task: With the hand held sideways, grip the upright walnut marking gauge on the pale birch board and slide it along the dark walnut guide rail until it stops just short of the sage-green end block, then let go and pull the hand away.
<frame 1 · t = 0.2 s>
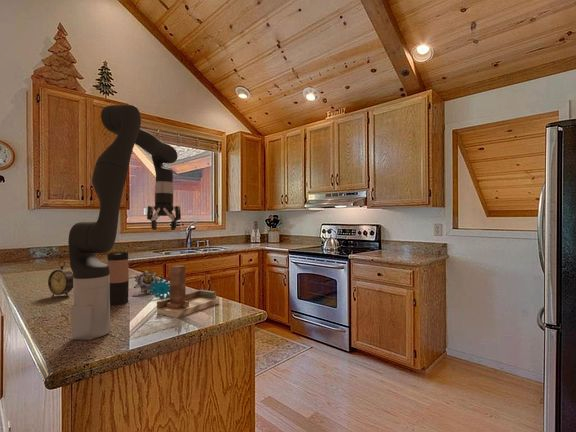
hand: (163, 229, 139), 29 cm above the countertop, tool pointing down, fingers open, 8 cm apart
alarm clock: (62, 296, 141), on the countertop
passion flower: (147, 292, 148), on the countertop
marking gauge: (177, 306, 116), point 2 cm above the countertop, touching board
travel mug: (118, 303, 130), on the countertop
board: (189, 308, 120), on the countertop
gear: (163, 297, 138), on the countertop
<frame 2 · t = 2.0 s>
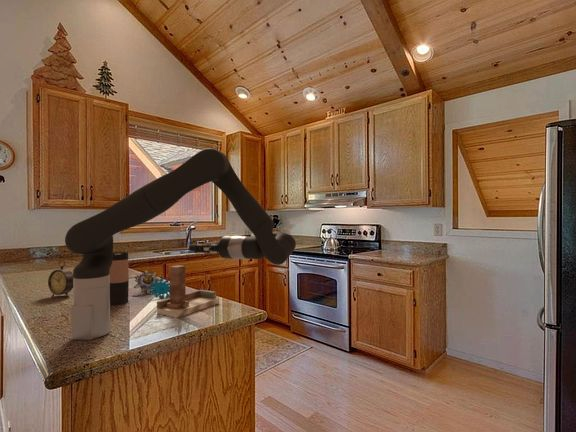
hand: (198, 246, 111), 24 cm above the countertop, tool horizontal, fingers open, 8 cm apart
nothing on the countertop moved.
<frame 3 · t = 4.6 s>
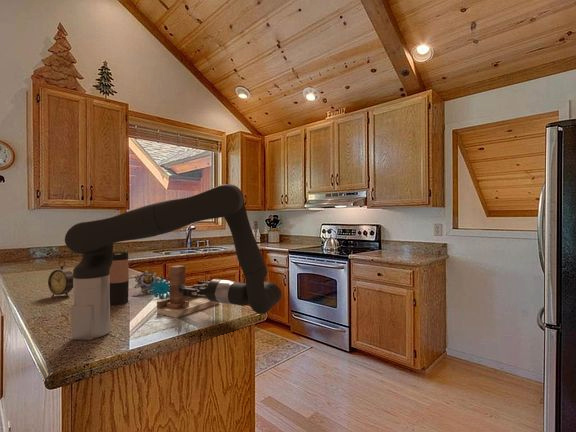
hand: (189, 286, 113), 10 cm above the countertop, tool horizontal, fingers open, 8 cm apart
nothing on the countertop moved.
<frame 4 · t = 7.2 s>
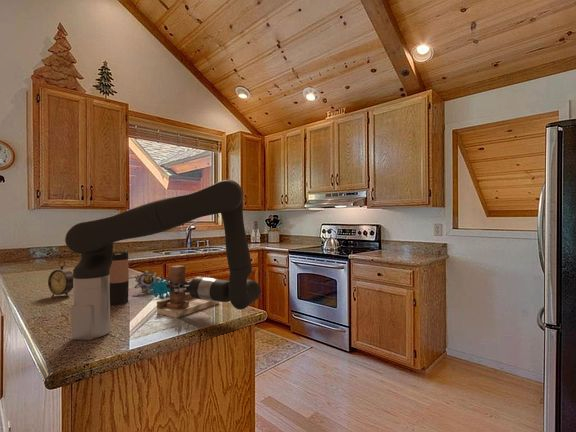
hand: (172, 283, 117), 10 cm above the countertop, tool horizontal, fingers closed on marking gauge, 3 cm apart
marking gauge: (177, 306, 116), point 2 cm above the countertop, touching board, gripper
everything else where it was.
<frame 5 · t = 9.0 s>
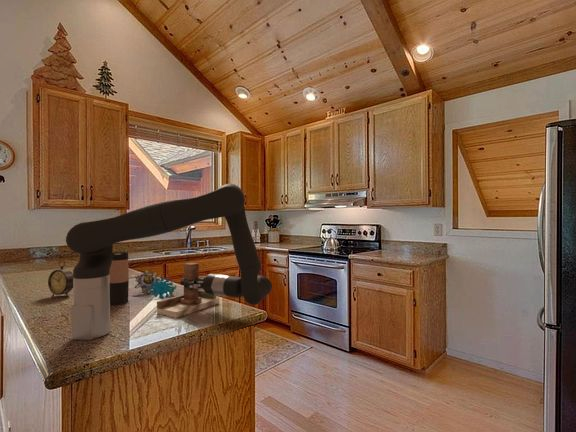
hand: (186, 280, 122), 10 cm above the countertop, tool horizontal, fingers closed on marking gauge, 4 cm apart
marking gauge: (191, 302, 121), point 2 cm above the countertop, touching gripper
everything else where it was.
when the fingers open (10 cm above the countertop, at t = 11.1 s): marking gauge stays where it is, resting on board.
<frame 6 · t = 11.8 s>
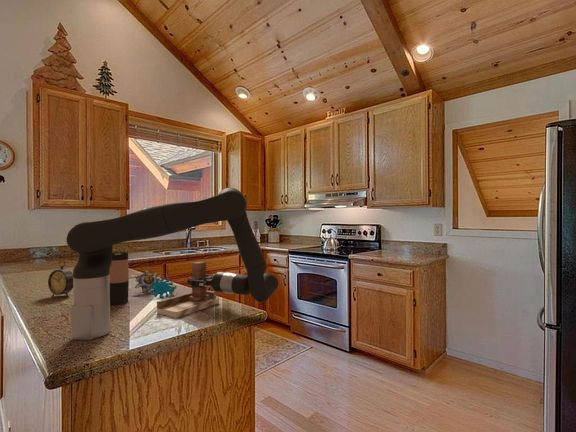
hand: (196, 278, 126), 10 cm above the countertop, tool horizontal, fingers open, 8 cm apart
marking gauge: (199, 299, 125), point 2 cm above the countertop, touching board
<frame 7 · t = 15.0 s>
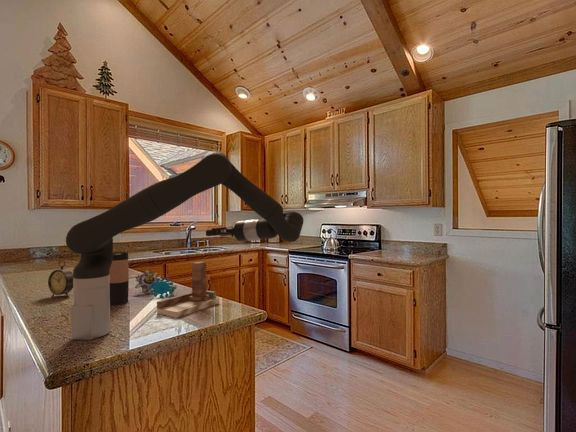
hand: (213, 233, 121), 28 cm above the countertop, tool horizontal, fingers open, 8 cm apart
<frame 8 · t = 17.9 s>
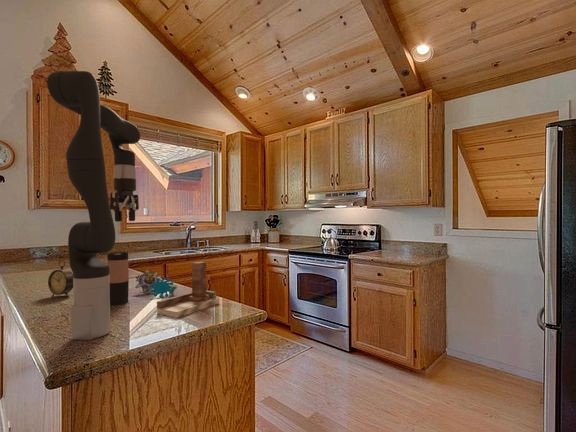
hand: (125, 221, 120), 33 cm above the countertop, tool pointing down, fingers open, 8 cm apart
at the end: marking gauge 0.4 cm from the target spot on the board, point 2.0 cm above the board's base; marking gauge tilted 0°; marking gauge touching board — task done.
